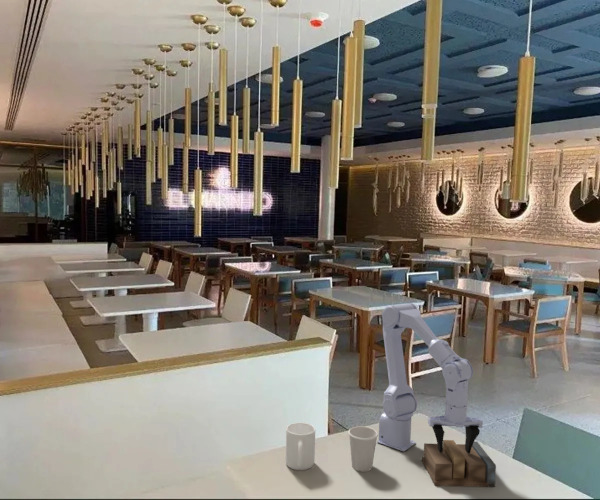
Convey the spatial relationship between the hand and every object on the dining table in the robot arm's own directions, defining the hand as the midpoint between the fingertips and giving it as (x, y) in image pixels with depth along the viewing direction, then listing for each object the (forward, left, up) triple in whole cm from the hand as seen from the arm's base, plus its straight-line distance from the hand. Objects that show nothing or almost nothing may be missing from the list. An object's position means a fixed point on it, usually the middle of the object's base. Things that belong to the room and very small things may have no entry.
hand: (453, 451), depth 140 cm
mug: (-34, -26, -6) cm, 43 cm away
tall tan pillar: (0, 0, -5) cm, 5 cm away
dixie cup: (-21, -14, -6) cm, 26 cm away
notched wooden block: (0, 0, -6) cm, 6 cm away
